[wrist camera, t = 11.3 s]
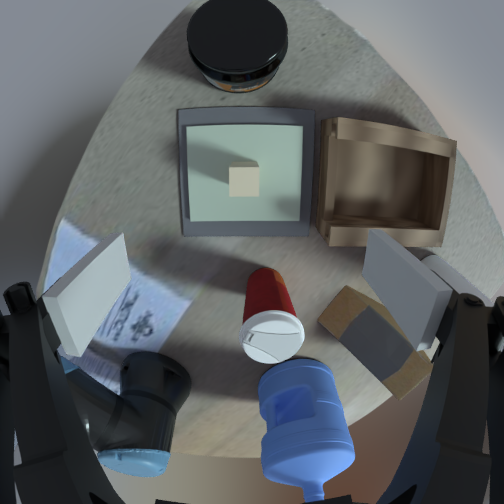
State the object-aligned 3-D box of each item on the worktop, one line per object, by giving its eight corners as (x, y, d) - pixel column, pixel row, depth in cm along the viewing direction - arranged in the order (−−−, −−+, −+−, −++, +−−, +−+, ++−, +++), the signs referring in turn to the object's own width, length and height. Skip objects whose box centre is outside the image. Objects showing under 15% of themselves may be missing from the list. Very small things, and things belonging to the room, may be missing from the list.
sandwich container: (345, 282, 44) (380, 341, 31) (400, 315, 48) (436, 367, 34) (315, 320, 47) (336, 385, 33) (372, 346, 51) (399, 402, 37)
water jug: (346, 365, 52) (386, 484, 26) (306, 408, 58) (325, 513, 32) (280, 347, 49) (300, 491, 24) (245, 394, 55) (246, 514, 29)
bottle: (407, 266, 43) (514, 391, 16) (440, 246, 42) (555, 348, 14) (414, 299, 46) (501, 418, 19) (445, 279, 45) (540, 382, 17)
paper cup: (233, 295, 45) (229, 357, 32) (251, 254, 42) (254, 308, 29) (278, 309, 46) (288, 372, 33) (298, 271, 43) (318, 328, 30)
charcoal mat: (184, 235, 40) (183, 236, 40) (179, 110, 33) (178, 109, 33) (308, 235, 41) (308, 236, 40) (314, 110, 34) (314, 110, 33)
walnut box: (315, 227, 40) (329, 246, 34) (321, 119, 34) (338, 117, 27) (416, 229, 41) (441, 247, 34) (427, 137, 35) (456, 141, 28)
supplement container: (198, 96, 33) (178, 79, 22) (201, 28, 28) (184, -9, 17) (278, 96, 33) (293, 79, 22) (279, 28, 29) (292, -10, 18)
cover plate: (191, 219, 39) (179, 239, 32) (187, 126, 34) (173, 125, 27) (298, 219, 39) (309, 238, 32) (301, 126, 34) (315, 124, 27)
